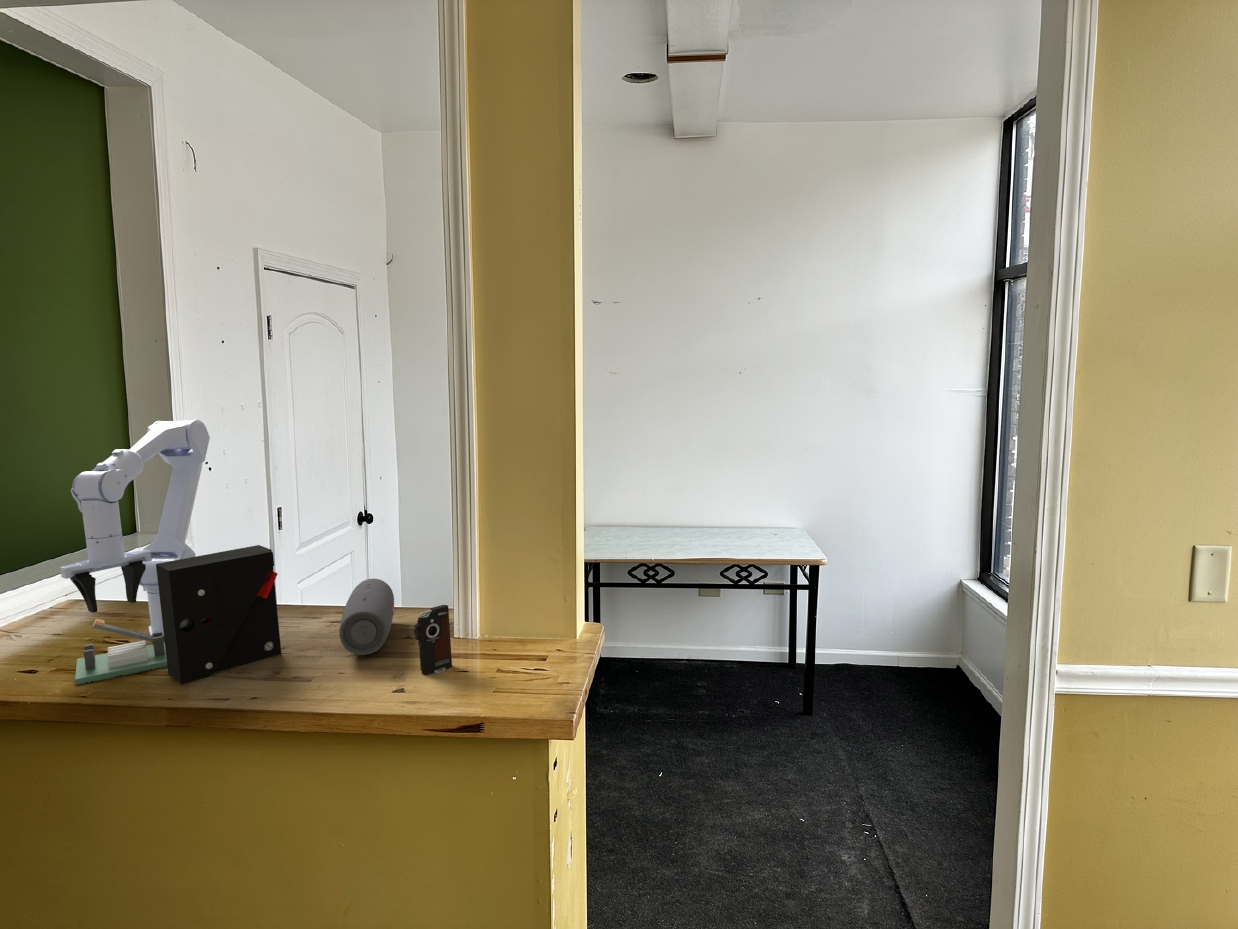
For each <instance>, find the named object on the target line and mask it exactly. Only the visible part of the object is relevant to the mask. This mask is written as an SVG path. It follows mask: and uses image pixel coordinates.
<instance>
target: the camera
mask: <svg viewBox="0 0 1238 929" xmlns="http://www.w3.org/2000/svg"><path fill="white" fill-rule="evenodd" d="M449 611H450V610H449V605H447V604H441V605H437V606H433V607H430V609H429V610H426V611H422V612H420V613H419V615H418V616H419V617H417V622H416V623H415V624H414V626H413V627H414V628H413V635H414V639H415V640H416V641H418V643H417V645H418V648H419V649H418V650H419V653H418V654H419V664H420V665H419V666H420V667H419V668H420V670H421V675H425V676H427V675H430V674H433V673H435V674H440V673H443V672H445V671H446V669H449V668H451V667H453V661H452V660H453V658H452V643H451V627H450V612H449Z"/></svg>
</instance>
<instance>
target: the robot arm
mask: <svg viewBox="0 0 1238 929" xmlns="http://www.w3.org/2000/svg"><path fill="white" fill-rule="evenodd" d="M210 439H211V436H210V434H209V432H208V429H207V427H206V425H205V423H204V422H203V421H201V419H193V420H169V421H167V420H165V421H164V420H157V421H155V422H154V423H152V424H151V425H148V427H147V431H146V434H145V435H144V436H142V438H140V439H139V440H138V441H137V442H136V443H135V444H134V445H133V446H132V447H131V448H129V449H125V448H124V449H123V448H122V449H114V450H113V451H112V452H111V455H110V456H109V457H108V458H106V459H105V460H103V461H102V462H99V463H97V464H96V466H95V467H94V468H93V469H92V470H91V471H85V470H84V471H82V472H81V473H78V475H77V476H76V477H75V478H74V479H73V482H72V488H71V489H70V493H71V496H72V498H73V499H74V500H75V501H76V502H77V507H78V510H79V511H80V513H82V520H83V527H84V528H83V529H84V535H85V544H86V551H87V552H86V553H87V558H88V559H86V560H82V561H79V562H75V563H71V564H69V565H63V566H60V567H59V568H60V575H61V578H63V579H69V580H70V581H71V583H72V584H73V585H74V586H75V587H76V588H77V590H78V591H79V594H81V596H82V598H83V600H84V602H85V605H86V608H87V611H88V612H90V613H92V614H94V613H98V604H97V598H96V579H97V578H96V577H94V576H92V573H97V572H100V571H105V570H109V569H114V568H121V572H122V574H123V580H124V584H125V597H126V600H127V602H128V603H130V604H134V603H137V598H138V590H139V587H140V586H141V587H142V588H143V589H142V590H143V592H146V594H147V602H148V610H149V619H150V621H149V622H150V625H149V626H148V631H149V635H151V636H152V633H155V632H161V631H162V636H163V637H164V631H163V622H162V614H161V605H160V596H159V587H158V578H157V570H156V564H158V563H163V562H169V561H174V560H180V559H185V558H190V557H196V556H197V555H196V552H195V551H194V550H193V549H192V548H191V547H190V546H189V545H188V544H187V543H186V540H187V538H188V534H189V533H188V532H189V528H190V523H191V517H192V513H193V510H194V507H195V506H194V504H195V501H196V496H197V492H198V488H199V487H198V486H199V482H200V477H201V473H202V468H203V463H204V462H205V461H206V457H207V453H208V447H209V443H210ZM157 455H159V456H160V458H161V459H162V460H163V461H164V462H165V463H166V464H168V465H170V466H171V468H172V471H171V476H170V479H169V485H168V490H167V492H166V497H165V501H164V506H163V510H162V514H161V519H160V522H159V526H158V531H157V536H156V539H155V540H154V541H151V543H149V544H148V545H147V546H145V547H144V548H143V550H142V549H141V550H138V551H129V552H125V546H124V539H123V538H124V536H123V530H122V523H121V514H120V504H119V500H121V499H122V498H123V496H124V493H125V490H126V488H127V487H128V485H129V484H130V482H132V481H133V480H135V478H136V477H138V476H139V475H140V474H142V472H144V468H145V465H144V464H145V463H146V462H147V461H149V460H150V459H152V458H153V457H155V456H157Z"/></svg>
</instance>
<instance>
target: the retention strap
mask: <svg viewBox="0 0 1238 929" xmlns="http://www.w3.org/2000/svg"><path fill="white" fill-rule="evenodd" d="M92 628H93V629H97V630H102V631H106V632H109V633H110V632H111V633H115V634H118V635H123V636H126V637H131V638H135V639H139V640H141V641H145V642H146V641H147V642H151V643H153V638H155V636H151V635H150V634H148V633H143V632H139V631H136V630H131V629H126V628H122V627H119V626H114V625H110V624H107V623H106V622H105V620H103V619H99V618H95V620H94V622H93V624H92Z"/></svg>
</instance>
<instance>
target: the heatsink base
mask: <svg viewBox="0 0 1238 929" xmlns="http://www.w3.org/2000/svg"><path fill="white" fill-rule="evenodd" d="M152 636H155V638H153V642H152V644H148V645H147V643H146V640H141V641H135V642H130V643H124V644H120V645H115V646H109V647H107V653H101V654H96V655H95V648H94V646H95V645H94V643H90V644H85V645H83V649H84V650H83V657H80V658H79V657H78V658H77V659H76V667H75V678H74V683H75V685H76V686H79V685H83V684H87V683H86V682H88V683H92V682H91V681H93V682H97V681H103V680H107V679H111V678H116V676H118V677H120V676H119V675H122V676H127V675H133V674H136V673H142V672H145V671H146V670H147V671H151V670H150V669H152V670H157V669H162V668H168V666H167V657H166V649H165V641H164V636H162V631H161V632H155V633H152ZM156 668H157V669H156ZM141 671H142V672H141Z"/></svg>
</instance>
